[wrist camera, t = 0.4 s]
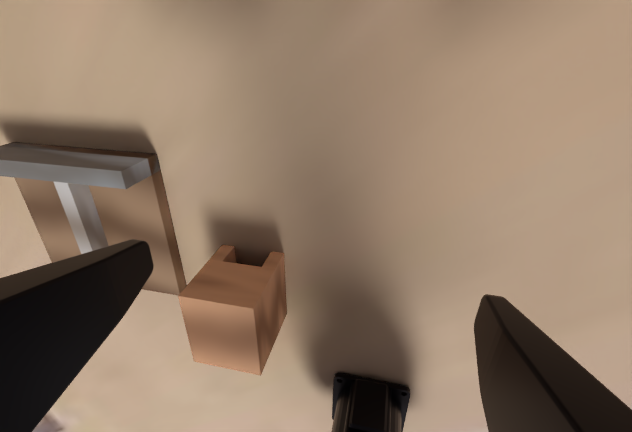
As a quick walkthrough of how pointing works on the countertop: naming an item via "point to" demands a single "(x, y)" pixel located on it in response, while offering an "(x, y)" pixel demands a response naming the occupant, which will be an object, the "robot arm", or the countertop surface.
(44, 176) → the board
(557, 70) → the countertop surface
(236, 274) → the tan cube
